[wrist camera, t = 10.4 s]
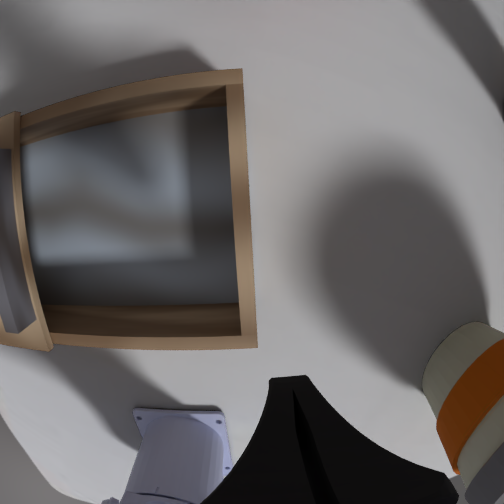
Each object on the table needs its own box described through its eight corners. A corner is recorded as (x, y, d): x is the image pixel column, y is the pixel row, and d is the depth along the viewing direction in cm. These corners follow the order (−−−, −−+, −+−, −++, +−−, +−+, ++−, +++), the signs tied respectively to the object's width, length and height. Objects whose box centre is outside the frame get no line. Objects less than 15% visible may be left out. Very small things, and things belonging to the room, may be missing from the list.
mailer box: (255, 309, 21) (257, 347, 16) (22, 310, 21) (-12, 334, 16) (243, 95, 17) (242, 68, 13) (-1, 146, 17) (-42, 145, 12)
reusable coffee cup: (519, 315, 22) (613, 383, 7) (463, 414, 25) (526, 500, 10) (447, 288, 21) (583, 387, 6) (381, 412, 23) (443, 541, 9)
